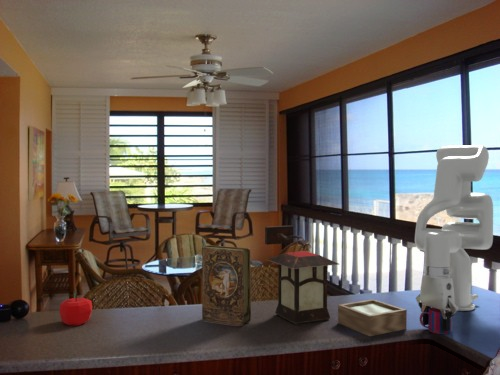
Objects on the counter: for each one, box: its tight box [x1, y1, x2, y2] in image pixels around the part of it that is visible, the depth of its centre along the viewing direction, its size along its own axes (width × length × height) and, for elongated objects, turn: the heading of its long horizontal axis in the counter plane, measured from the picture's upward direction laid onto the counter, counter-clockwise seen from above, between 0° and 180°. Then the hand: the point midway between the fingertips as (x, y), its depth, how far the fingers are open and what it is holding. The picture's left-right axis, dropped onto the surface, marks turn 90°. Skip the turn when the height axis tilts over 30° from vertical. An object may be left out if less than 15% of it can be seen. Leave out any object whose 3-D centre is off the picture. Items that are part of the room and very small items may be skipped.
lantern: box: [264, 225, 340, 325], centre depth 181 cm, size 18×26×30 cm
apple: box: [59, 292, 93, 326], centre depth 172 cm, size 11×11×10 cm
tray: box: [337, 299, 408, 337], centre depth 168 cm, size 15×15×6 cm
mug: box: [419, 307, 452, 335], centre depth 163 cm, size 7×10×7 cm
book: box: [201, 245, 252, 327], centre depth 173 cm, size 16×6×25 cm, turn 65°
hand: (435, 327), depth 162 cm, fingers closed on mug, 6 cm apart
